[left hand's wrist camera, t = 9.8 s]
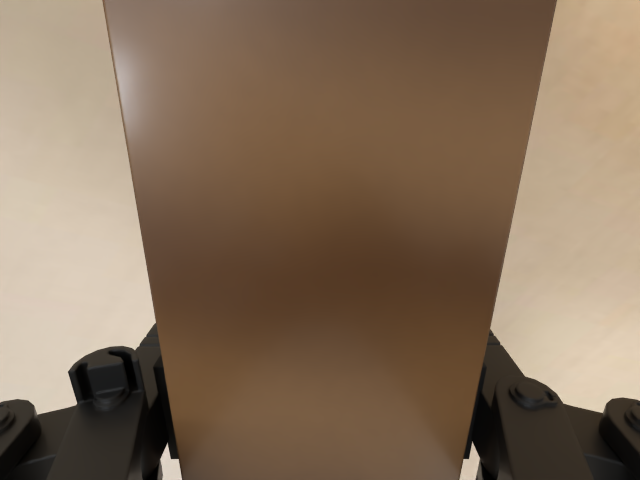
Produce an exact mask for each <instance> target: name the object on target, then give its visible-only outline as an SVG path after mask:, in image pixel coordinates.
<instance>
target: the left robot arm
mask: <svg viewBox="0 0 640 480" xmlns="http://www.w3.org/2000/svg"><path fill="white" fill-rule="evenodd" d="M68 374H69V377H70V380H71V384H72V387H73V390H74V394H75V397H76V400H77V405H76V406H72V407H69V408H65V409H61V410H56V411H52V412H48V413H43V414H39V415H37V413H36V410H35V407H34V405H33V404H32V403H30V402H29V401H28V400H20V399H16V400H10V401H3V402H1V403H0V480H162V477H163V473H162V466H161V461H160V458H161V456H162V454H163V452H164V449H165V447H166V445H167V443H168V447H169V452H170V457H171V459H179V457H178V451H177V445H176V439H175V433H174V427H173V421H172V415H171V409H170V403H169V397H168V391H167V385H166V379H165V373H164V367H163V361H162V355H161V349H160V343H159V337H158V331H157V325H156V323H155V324H154V325H153V327H152V328H151V330H150V331H149V332H148V334H147V336H146V337H145V338H144V339H143V341H142V342H141V343H140V346H139V347H137V349H136V350H134V349H132V348H129V347H125V346H115V347H108V348H104V349H100V350H97V351H95V352H93V353H90V354H88V355H86V356H84V357H83V358H81V359H80V360H79V361H77V362H76V363H75V364H74V365H73V366H72V367H71V369H70V370H69V371H68ZM472 441H473V444H474V446H475V448H476V450H477V453H478V455H479V457H480V461H479V466H478V471H477V475H476V480H640V401H639V400H635V399H629V398H615V399H611V400H610V401H609V402H608V403H607V404H606V406H605V409H604V412H603V413H599V412H595V411H591V410H586V409H582V408H578V407H573V406H570V405H566V404H563V402H562V401H561V399H560V398H559V397H558V395H557V394H556V393H555V392H554V391H553V390H551V389H550V388H549V387H548V386H546V385H544V384H543V383H541V382H539V381H537V380H535V379H531V378H528V377H525V376H524V375H523V373H522V372H521V371H520V369H519V368H518V366H517V365H516V364H515V362H514V361H513V360H512V358H511V357H510V356H509V354H508V353H507V351H506V350H505V349H504V347H503V346H502V345H500V342H499V341H498V339H497V338H496V337H495V336H494V335H493V332H492V331H491V330H490V331H489V336H488V341H487V346H486V351H485V356H484V360H483V365H482V370H481V375H480V380H479V385H478V390H477V395H476V400H475V405H474V410H473V414H472V419H471V424H470V429H469V434H468V439H467V444H466V449H465V454H464V459H469V455H470V450H471V445H472Z"/></svg>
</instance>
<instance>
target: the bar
mask: <svg viewBox="0 0 640 480" xmlns="http://www.w3.org/2000/svg"><path fill="white" fill-rule="evenodd" d="M556 2H557V0H103V6H104V12H105V18H106V24H107V30H108V36H109V42H110V48H111V54H112V60H113V66H114V72H115V78H116V84H117V90H118V96H119V102H120V108H121V114H122V120H123V126H124V132H125V138H126V144H127V150H128V156H129V162H130V168H131V174H132V180H133V186H134V192H135V198H136V204H137V210H138V216H139V222H140V229H141V235H142V241H143V247H144V253H145V259H146V265H147V271H148V277H149V283H150V289H151V295H152V301H153V307H154V313H155V319H156V325H157V331H158V337H159V343H160V349H161V355H162V361H163V367H164V373H165V379H166V385H167V391H168V397H169V403H170V409H171V415H172V421H173V427H174V433H175V439H176V445H177V451H178V457H179V463H180V469H181V475H182V480H459V478H460V473H461V468H462V464H463V459H464V454H465V449H466V444H467V439H468V434H469V429H470V424H471V419H472V414H473V410H474V405H475V400H476V395H477V390H478V385H479V380H480V375H481V370H482V365H483V360H484V356H485V351H486V346H487V341H488V336H489V331H490V326H491V321H492V316H493V311H494V306H495V302H496V297H497V292H498V287H499V282H500V277H501V272H502V267H503V262H504V257H505V252H506V247H507V243H508V238H509V233H510V228H511V223H512V218H513V213H514V208H515V203H516V198H517V193H518V189H519V184H520V179H521V174H522V169H523V164H524V159H525V154H526V149H527V144H528V139H529V135H530V130H531V125H532V120H533V115H534V110H535V105H536V100H537V95H538V90H539V85H540V81H541V76H542V71H543V66H544V61H545V56H546V51H547V46H548V41H549V36H550V31H551V27H552V22H553V17H554V12H555V7H556Z"/></svg>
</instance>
